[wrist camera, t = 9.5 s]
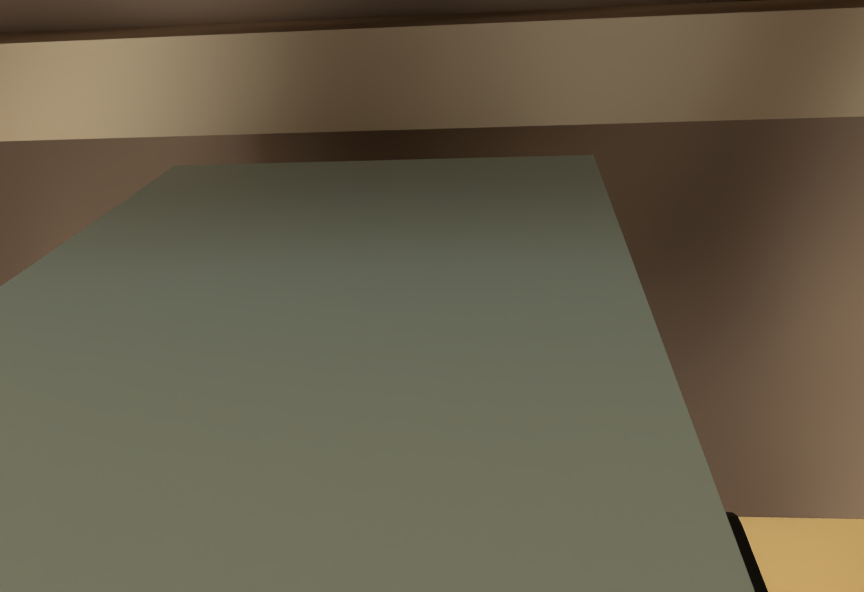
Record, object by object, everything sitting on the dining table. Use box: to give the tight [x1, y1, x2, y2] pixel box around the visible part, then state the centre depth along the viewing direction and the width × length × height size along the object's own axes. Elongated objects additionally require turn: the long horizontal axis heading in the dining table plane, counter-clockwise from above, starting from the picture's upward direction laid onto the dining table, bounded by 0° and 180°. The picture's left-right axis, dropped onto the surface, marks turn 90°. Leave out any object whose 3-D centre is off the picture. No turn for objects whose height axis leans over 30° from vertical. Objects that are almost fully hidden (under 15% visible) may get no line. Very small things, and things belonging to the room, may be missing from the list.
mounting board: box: [0, 0, 864, 519], centre depth 12 cm, size 20×14×8 cm
